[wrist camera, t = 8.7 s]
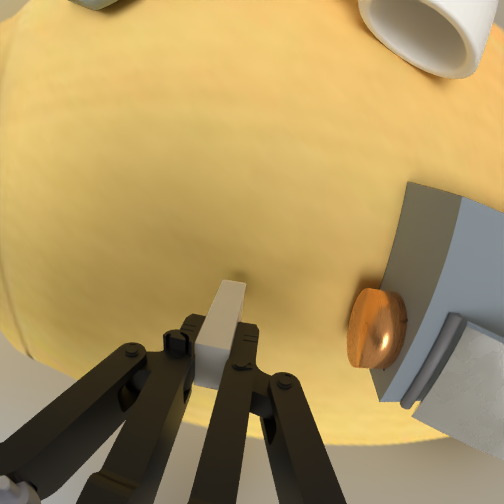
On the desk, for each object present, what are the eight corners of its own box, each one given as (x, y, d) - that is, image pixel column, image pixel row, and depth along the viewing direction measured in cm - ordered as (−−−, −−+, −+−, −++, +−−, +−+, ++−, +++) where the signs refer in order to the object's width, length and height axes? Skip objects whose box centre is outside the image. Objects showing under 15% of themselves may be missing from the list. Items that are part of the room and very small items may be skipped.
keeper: (415, 409, 14) (411, 416, 13) (467, 320, 11) (466, 326, 11) (506, 453, 8) (505, 460, 7) (570, 372, 5) (573, 379, 5)
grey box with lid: (360, 341, 21) (381, 410, 14) (407, 181, 17) (470, 198, 9) (462, 347, 20) (496, 397, 13) (510, 219, 16) (568, 246, 9)
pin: (342, 336, 20) (354, 384, 15) (363, 275, 18) (386, 314, 13) (482, 344, 19) (506, 376, 14) (504, 298, 17) (535, 325, 12)
